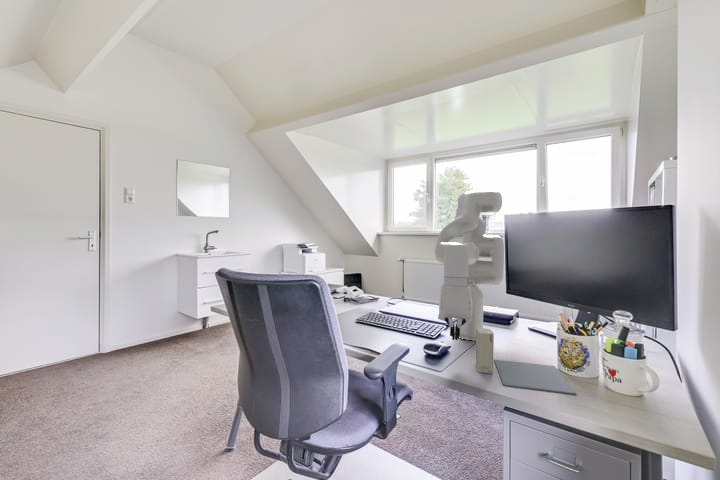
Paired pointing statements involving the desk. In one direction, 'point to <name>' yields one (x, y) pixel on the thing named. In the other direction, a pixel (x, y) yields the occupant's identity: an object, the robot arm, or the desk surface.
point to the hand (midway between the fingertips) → (454, 338)
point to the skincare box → (484, 350)
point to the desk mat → (532, 376)
